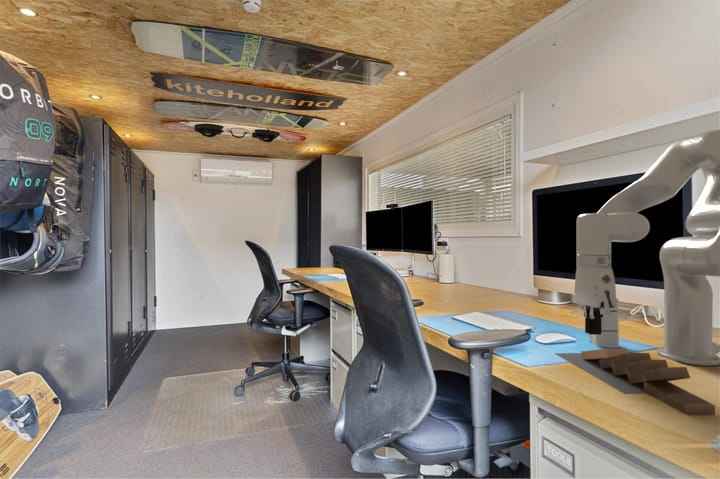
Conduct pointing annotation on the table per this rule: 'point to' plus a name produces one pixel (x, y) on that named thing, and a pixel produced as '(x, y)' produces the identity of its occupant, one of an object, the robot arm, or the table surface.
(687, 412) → the domino
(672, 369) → the domino
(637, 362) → the domino
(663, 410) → the table surface
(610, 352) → the domino
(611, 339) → the syrup box
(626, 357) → the domino
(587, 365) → the mat
